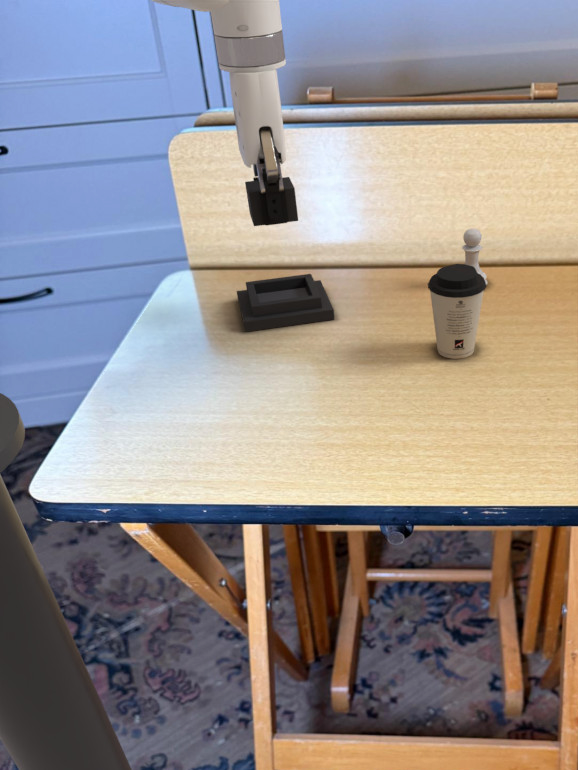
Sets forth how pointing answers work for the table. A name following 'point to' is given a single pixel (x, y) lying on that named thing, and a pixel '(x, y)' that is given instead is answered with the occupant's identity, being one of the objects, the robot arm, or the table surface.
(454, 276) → the coffee cup
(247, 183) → the black block
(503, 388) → the table surface
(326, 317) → the base pad
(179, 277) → the table surface
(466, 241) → the chess piece
